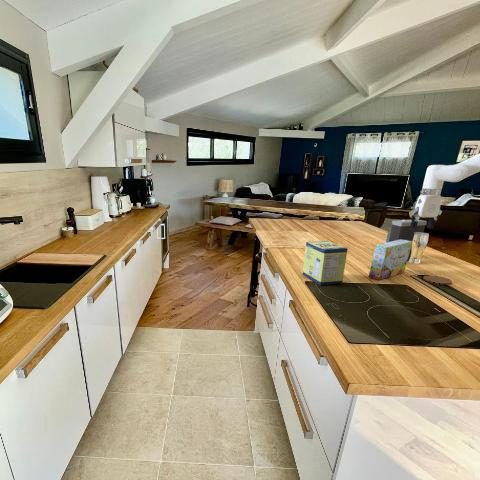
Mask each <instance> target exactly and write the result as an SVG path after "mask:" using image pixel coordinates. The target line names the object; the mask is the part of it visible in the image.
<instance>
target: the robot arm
mask: <svg viewBox="0 0 480 480" xmlns="http://www.w3.org/2000/svg"><path fill="white" fill-rule="evenodd" d="M477 173H480V152H479V153H477V154H475V155H473V156H471V157H469V158H467V159H465V160H463V161H461V162H459V163H456V164H449V165H446V164H431V165H428V167H427V168H426V171H425V176H424V180H423V184H422V188H421V190H420V195H419V196H418V199H417V201H416V203H415V207H414V208H413V209H412V210H410V211H409V212H408V214H409V218H410V219H409V220H411V225H410V229H414V230H415V229H416V228H417V224H418V221H417V220H420V219H421V218H429V219H428V221H427V224H426V228H427V229H432V230H433V229H434V227H435V224H436V221H437V220H438V219H439V218H440V216H441V214H442V213H443V211H442V209H441V203H442V196H441V193H442V189H443V186H444V183H445V182H450V183H459V182H461V181H462V180H464V179H467V178H468V177H470V176H473V175H475V174H477Z"/></svg>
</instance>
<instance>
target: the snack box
mask: <svg viewBox="0 0 480 480" xmlns="http://www.w3.org/2000/svg"><path fill="white" fill-rule="evenodd" d="M411 245H412V241H407V240H396V241H392V242H387V243H386V242H383V243H380V244H379V243H378V244H375V246H374V251H373V256H372V260H371V265H370V270H369V273H368V278H371V279H374V280H377V281H381V280H385V279H387V278H391V277H394V276H397V275H401V274H404V273H405V271H406V267H407V263H408V262H407V260H408V256H409V252H410V249H411Z"/></svg>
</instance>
